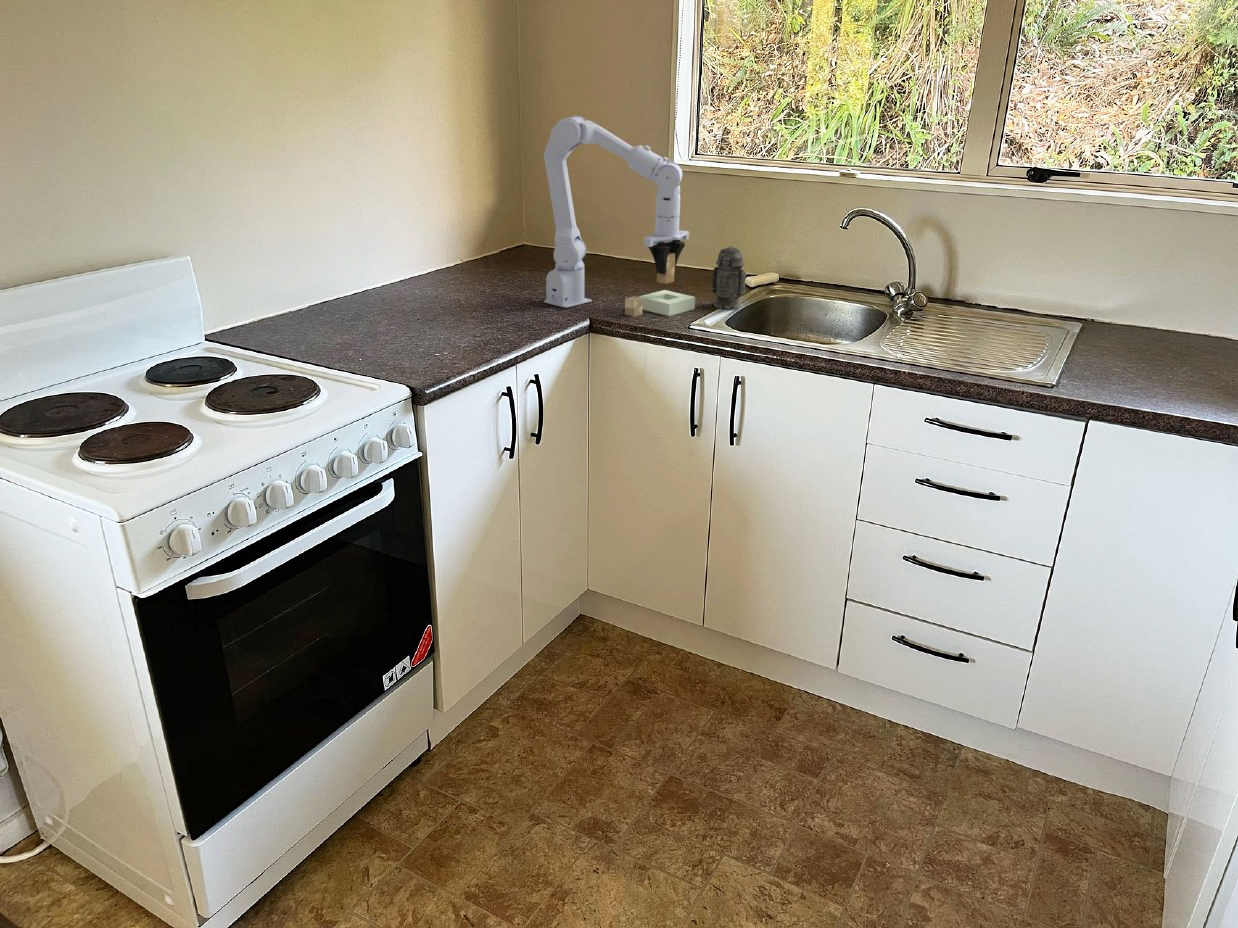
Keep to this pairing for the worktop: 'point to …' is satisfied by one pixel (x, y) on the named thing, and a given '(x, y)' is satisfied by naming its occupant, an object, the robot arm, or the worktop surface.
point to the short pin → (633, 306)
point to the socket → (667, 302)
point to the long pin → (668, 270)
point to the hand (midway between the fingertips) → (665, 272)
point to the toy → (729, 279)
